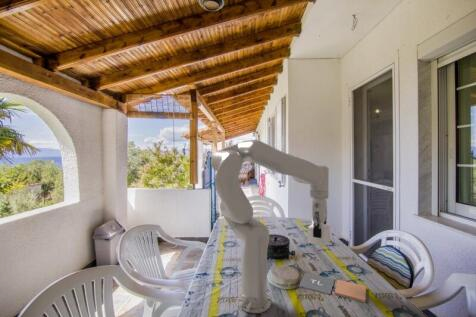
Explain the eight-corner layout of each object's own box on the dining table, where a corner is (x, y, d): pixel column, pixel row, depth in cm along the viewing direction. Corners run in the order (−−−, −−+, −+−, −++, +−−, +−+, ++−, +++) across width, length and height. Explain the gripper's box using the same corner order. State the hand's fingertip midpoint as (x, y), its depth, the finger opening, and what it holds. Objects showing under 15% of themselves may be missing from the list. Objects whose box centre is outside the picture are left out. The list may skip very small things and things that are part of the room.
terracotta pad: (365, 302, 92) (365, 300, 92) (334, 294, 98) (334, 292, 98) (366, 288, 102) (366, 286, 102) (338, 281, 107) (338, 279, 107)
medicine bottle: (313, 238, 111) (314, 212, 110) (329, 241, 106) (330, 214, 106) (307, 242, 105) (307, 215, 105) (324, 246, 101) (324, 218, 100)
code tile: (330, 294, 98) (330, 294, 98) (298, 286, 104) (298, 285, 104) (334, 280, 109) (334, 279, 109) (305, 273, 115) (305, 272, 115)
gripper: (325, 198, 96) (324, 242, 96) (331, 191, 111) (330, 229, 111) (305, 196, 99) (305, 239, 100) (314, 190, 115) (314, 227, 115)
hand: (319, 234), depth 106 cm, fingers closed on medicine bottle, 7 cm apart
